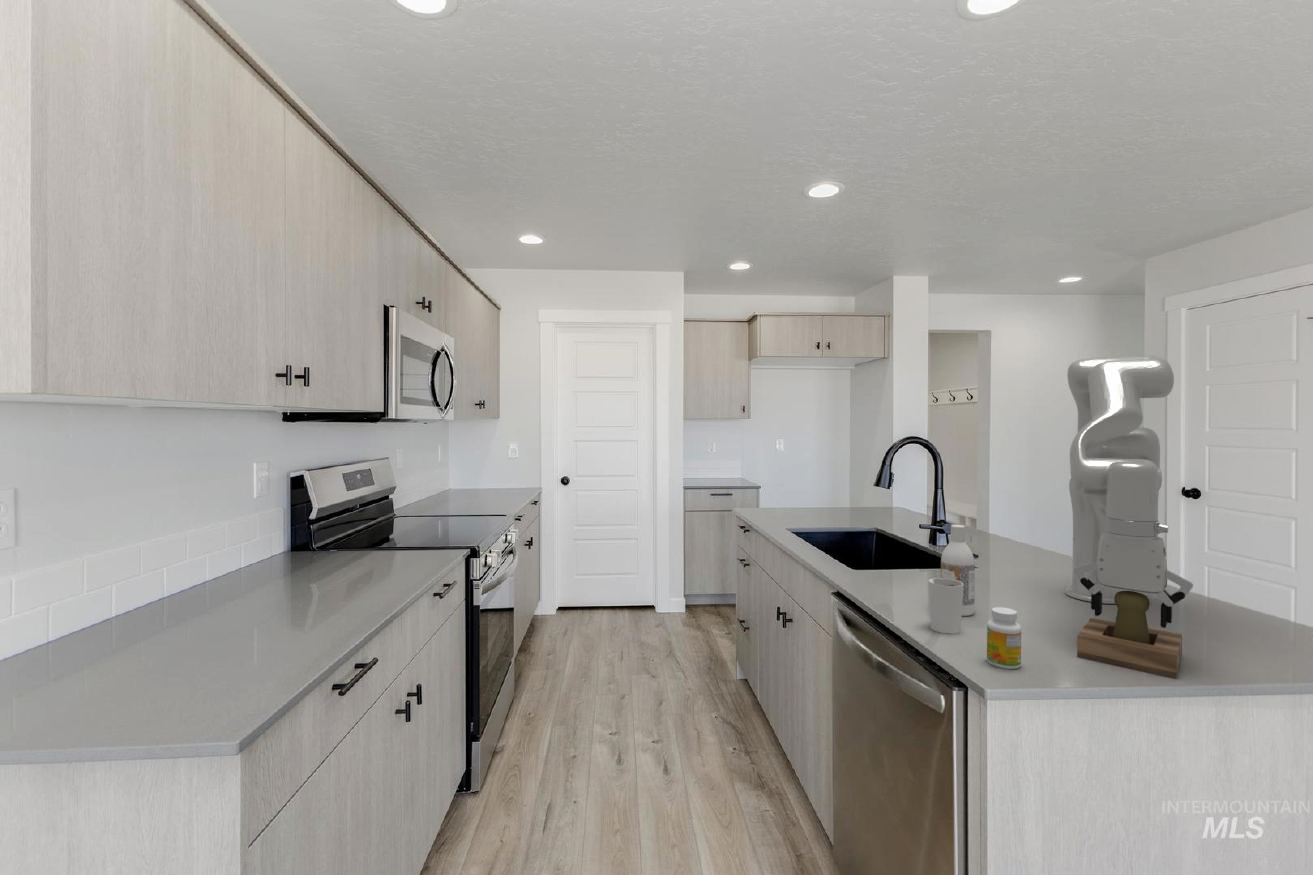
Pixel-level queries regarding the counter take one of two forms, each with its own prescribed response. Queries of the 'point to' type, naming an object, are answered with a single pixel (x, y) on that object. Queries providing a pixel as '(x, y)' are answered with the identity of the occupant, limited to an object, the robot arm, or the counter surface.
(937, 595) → the white cylindrical cup
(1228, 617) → the counter surface
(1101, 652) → the socket block
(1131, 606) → the olive brown peg
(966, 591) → the bath foam
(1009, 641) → the supplement bottle
